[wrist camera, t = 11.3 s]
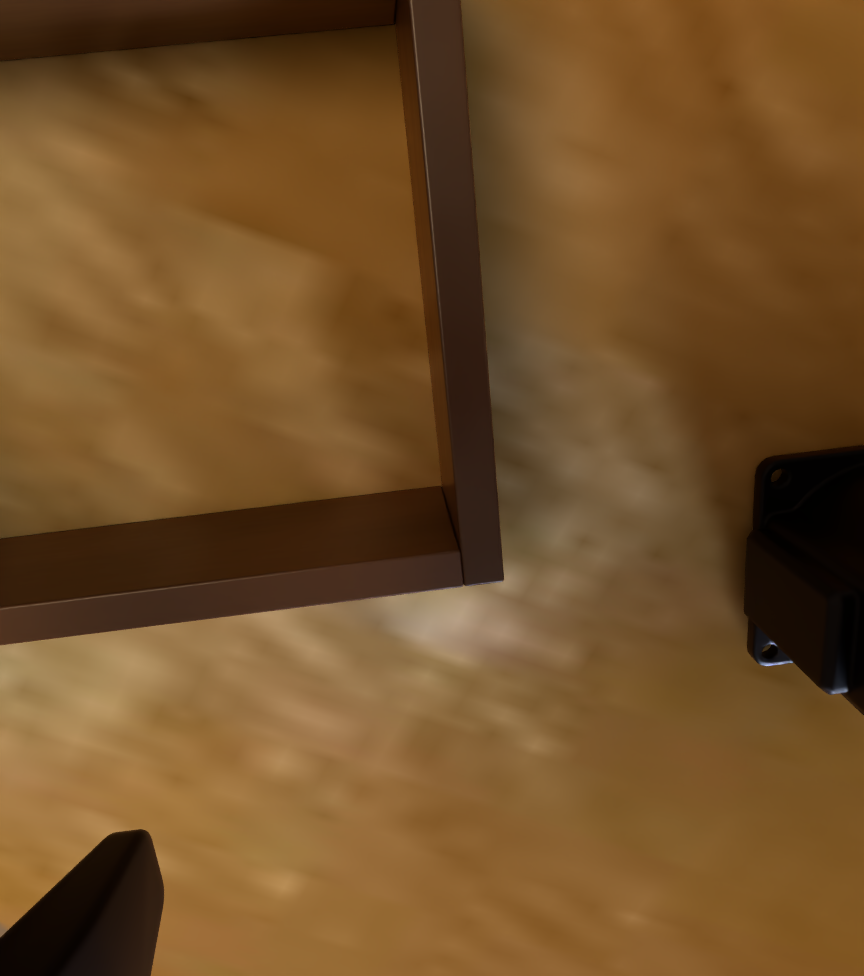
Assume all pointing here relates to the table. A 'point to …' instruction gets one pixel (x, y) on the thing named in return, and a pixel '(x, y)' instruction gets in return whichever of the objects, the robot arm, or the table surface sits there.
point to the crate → (318, 524)
